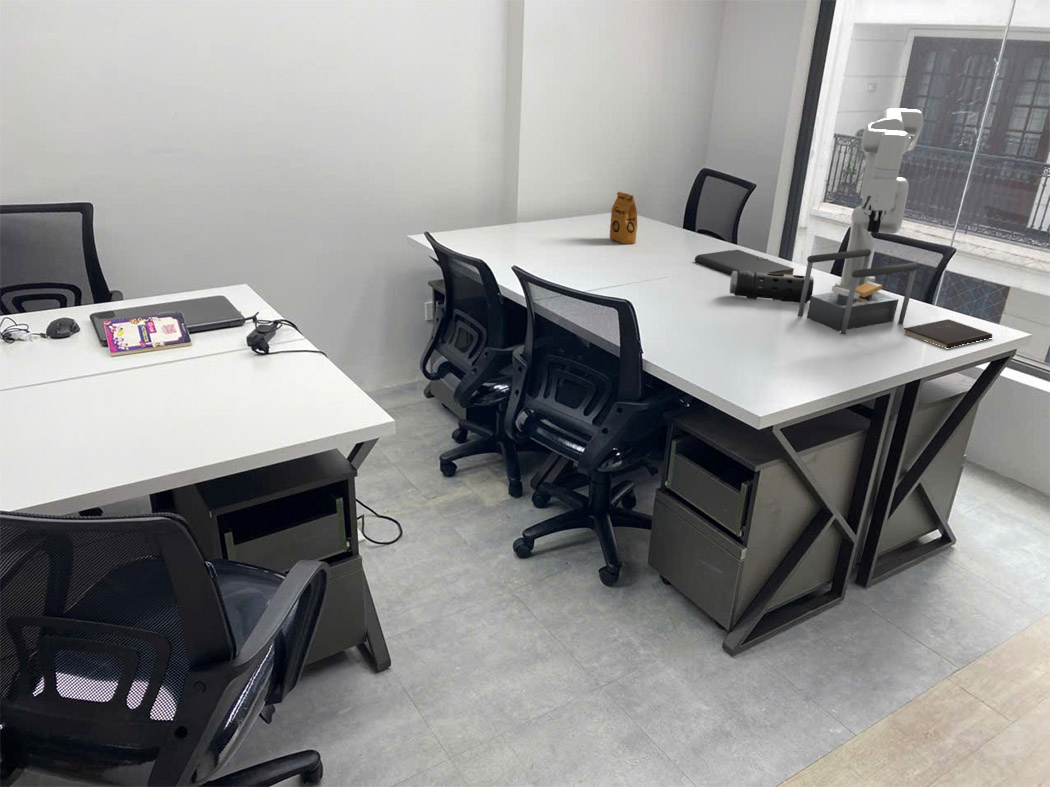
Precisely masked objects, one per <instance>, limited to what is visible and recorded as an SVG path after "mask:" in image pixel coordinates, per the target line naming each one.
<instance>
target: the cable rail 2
mask: <svg viewBox="0 0 1050 787" xmlns="http://www.w3.org/2000/svg"><path fill="white" fill-rule="evenodd" d="M918 268H919V265H918V263H917V262H910V263H901V264H895V265H887V266H879V267H871V268H870V269H862V270H855V271H853V272H852V276H853V277H852V282H851V287H850V291H849V296H848V301H847V305H846V310H845V315H844V319H843V324H842V328H841V331H840V335H841V336H842V335H844V336H845V335H846V334H847V326H848V321H849V317H850V312H851V307H852V303H853V298H854V294H855V289H856V285H857V280H858V278H860V277H867V276H869V277H876V276H881V275H887V274H896V273H903V272H910V273H909V277H908V280H907V281H908V282H907V286H906V289H905V293H904V297H903V301H902V305H901V309H900V313H899V317H898V322H897V324H898V325H899V326H900V325H901V326H902V325H904V321H905V318H906V315H907V314H906V313H907V311H908V310H907V309H908V305H909V302H910V298H911V293H912V290H913V285H914V282H915V278H916V273H917V270H918Z"/></svg>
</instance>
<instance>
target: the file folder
mask: <svg viewBox="0 0 1050 787" xmlns="http://www.w3.org/2000/svg"><path fill="white" fill-rule="evenodd" d="M694 262H695V263H698V264H699V265H702V266H705V267H708V268H711V269H713V270H715V271H718V272H720V273H723V274H727V275H729V276H731V275H732V271H737V270H749V271H751V273H755V272H764V273H775V274H788V275H794V271H795V268H794V267H790V266H788V265H784V264H781V263H779V262H777V261H772V260H770V259H768V258H764V257H762V256H758V255H756V254H752V253H750V252H747V251H743V250H740V249H734V250H733V249H732V250H730V249H729V250H724V251H717V252H710V253H703V254H697V255H696V256H695V258H694Z"/></svg>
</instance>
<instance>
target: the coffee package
mask: <svg viewBox="0 0 1050 787" xmlns="http://www.w3.org/2000/svg"><path fill="white" fill-rule="evenodd" d="M616 195H617V197H616V198H615V201H614V203H613V205H612V207H611V213H610V214H611V216H610V226H609V239H611V240H612V241H615V242H617V243H618V244H619V243H620V244H623V245H632V244H633V245H634V244H636V241H637V230H638V211H637V210H638V209H637V205H636V201H635V199H634V195H632V194H628V193H627V192H622V191H618V192H616Z"/></svg>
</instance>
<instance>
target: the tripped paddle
mask: <svg viewBox="0 0 1050 787" xmlns="http://www.w3.org/2000/svg"><path fill="white" fill-rule="evenodd" d="M882 287H883V285H882V284H880V283H877V282H875V281H874V282H871V281H868V282H866V283H864V284H862V285H860V286H858V287H856V289H855V292H858V293H860V295H859V296H862V297H866V296H868V295H870V294H872V293H875V292H879V291H880V290H882Z"/></svg>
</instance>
